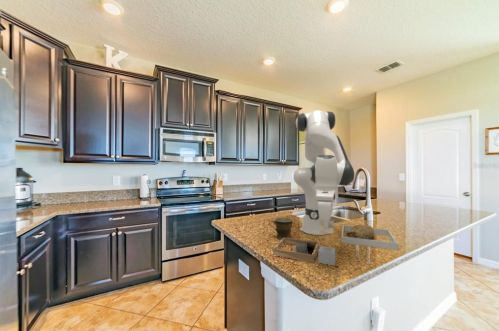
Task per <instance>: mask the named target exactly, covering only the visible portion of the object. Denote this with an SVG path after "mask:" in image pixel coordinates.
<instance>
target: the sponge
mask: <svg viewBox="0 0 499 331" xmlns="http://www.w3.org/2000/svg"><path fill="white" fill-rule="evenodd" d="M353 226H354V227H352V229H351V230H350V231H345V237H351V238H359V239H368V240H370V238H373V237H374V235H375V234H374V229H373V228H374V227H372V226H371V225H368V224H355V225H353Z"/></svg>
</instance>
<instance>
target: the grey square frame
mask: <svg viewBox="0 0 499 331" xmlns="http://www.w3.org/2000/svg"><path fill="white" fill-rule="evenodd" d="M354 226H355V225H353V226H352V225H344V224H343V225H342V229H341V243H343V244H351V245H357V246H364V247H374V248H380V249H381V248H382V249H389V250H390V249H391V250H399V243H398V241H397V240H396V239H395V237H394V236H393V234H392V233H391V231H390V230H389V229H383V228H376V227H375V228H374V227H372V228H373V229H374V235H379V236H380V235H381V236H382V235H383V236H387V237H388V238H389V240H390V241H384V240H383V241H382V240H376V239H359V238H351V237H347V236H344V232H348V231H350V230H351V229H352V227H354Z"/></svg>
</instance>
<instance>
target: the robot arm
mask: <svg viewBox="0 0 499 331" xmlns="http://www.w3.org/2000/svg"><path fill="white" fill-rule="evenodd" d="M336 118H337V117H336V115H335V113H334V111H333V112H332V111H323V110H319V109H316V110H313V111H311V112H307V113H303V112H302V113H300V114H298V115H297V116H296V118H295V125H296V126H295V127H296V129H297V130H298V131H299V132H302V133H304V132H305V137H304V157H305V158H306V160H307V161H309V162H311V163H312V165H311V167H301V168H296V169H295V171H294V172H293V181H294V182H295V183H296V185H298V186H299V187H300V188H301V189H302V191H303V193H304V198H305V208H304V216H302V226H301V227H299V231H301V232H304V233H305V234H309V235H317V236H322V235H323V236H325V235H331V234H330V233H321V232H320V221H323V225H324V230H328V229H329V221H330V218H332V215H333V212H334V211H333V210H334V207H333V206H334V205H333V204H334V203H335V201H336V200H337V199H339V186H345V187H347V186H348V185H350V184H351V183H352V182H354V179H355V170H354V167H353V166H352V164H351V162H350V160H349V158H348V155H347V153H346V150H345V148H344V145H343V142H342V141H341V139H340V137H339V135H337V134H335V133H334V132H333V131H332V129H334V128H335V125H336V123H337V119H336ZM325 149H327V150H330V151H331V152H332V153H333V154H334V155H332V154H325Z"/></svg>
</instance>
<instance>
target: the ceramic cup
mask: <svg viewBox="0 0 499 331" xmlns="http://www.w3.org/2000/svg"><path fill="white" fill-rule="evenodd" d="M293 221H294V220H293V219H292V218H289V217H277V218H274V220H270V221H269V223H268V225H269V226H270V227H272V228H273V229H274V231H276V235H277V239H279V238H280V239H279V240H282V239H283V238H291V233H292V227H293ZM271 222H272V223H273V224H274V226H273V225H272V224H271Z"/></svg>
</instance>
